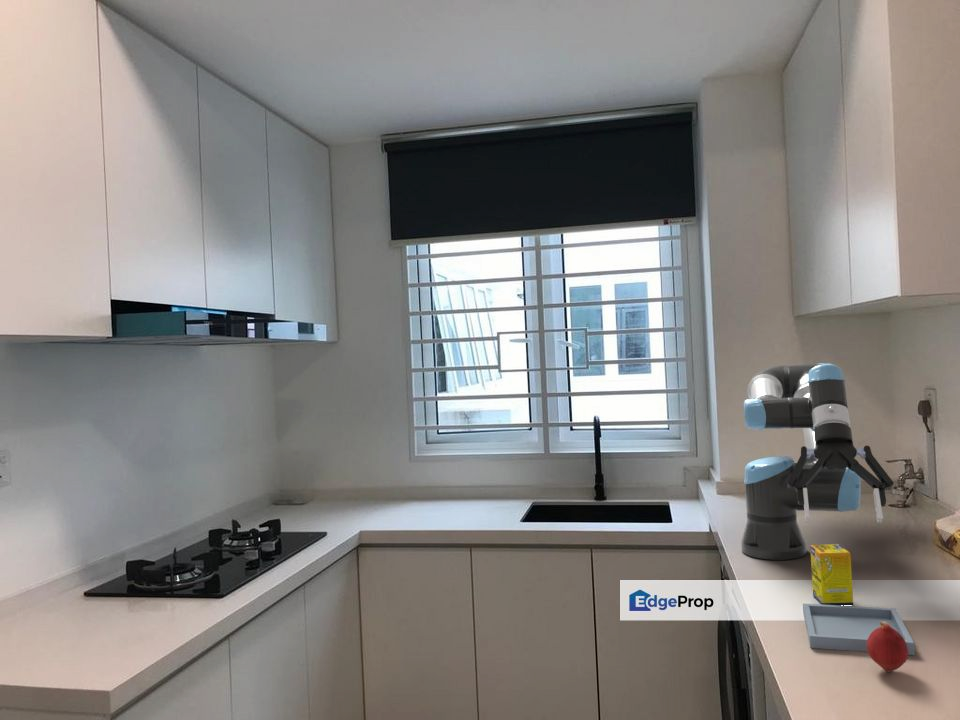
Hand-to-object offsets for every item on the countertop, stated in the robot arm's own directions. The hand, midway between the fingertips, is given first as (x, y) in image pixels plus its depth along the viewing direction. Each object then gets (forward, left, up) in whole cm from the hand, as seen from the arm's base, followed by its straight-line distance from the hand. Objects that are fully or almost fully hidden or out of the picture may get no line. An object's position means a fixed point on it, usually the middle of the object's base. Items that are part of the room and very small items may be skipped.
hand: (843, 520), depth 152 cm
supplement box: (+5, -3, -16) cm, 17 cm away
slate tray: (+21, -1, -15) cm, 26 cm away
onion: (+36, +2, -16) cm, 39 cm away
